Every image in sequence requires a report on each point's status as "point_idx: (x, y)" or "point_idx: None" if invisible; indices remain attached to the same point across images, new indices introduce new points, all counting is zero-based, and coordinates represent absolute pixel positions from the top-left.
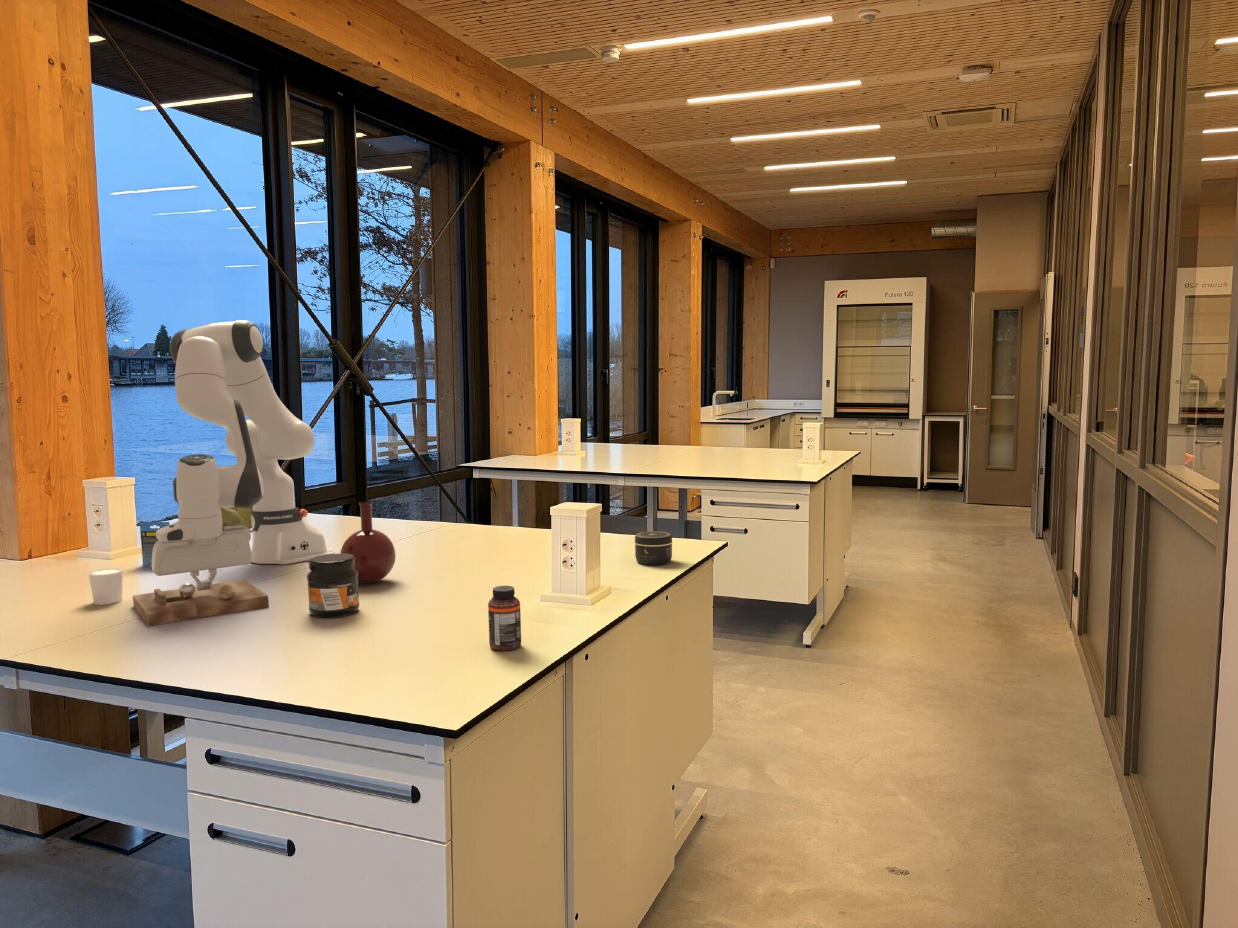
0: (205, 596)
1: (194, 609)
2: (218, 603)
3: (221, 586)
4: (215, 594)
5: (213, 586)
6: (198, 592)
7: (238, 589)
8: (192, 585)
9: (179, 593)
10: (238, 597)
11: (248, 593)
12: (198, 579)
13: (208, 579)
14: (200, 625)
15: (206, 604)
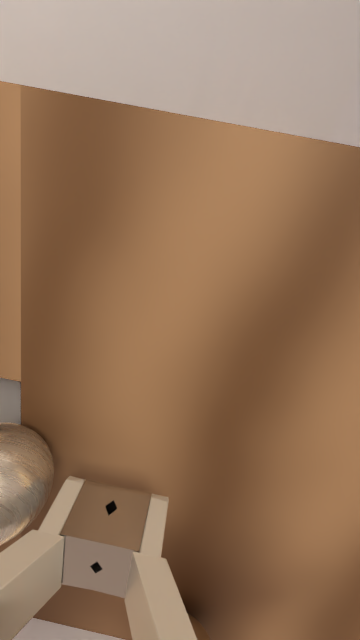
0: None
1: None
2: (117, 635)
3: (337, 323)
4: (180, 500)
5: (297, 262)
6: (120, 371)
7: (349, 499)
8: (4, 541)
9: (2, 286)
10: (234, 627)
11: (318, 607)
12: (20, 625)
13: (133, 583)
14: (37, 621)
15: (68, 616)
